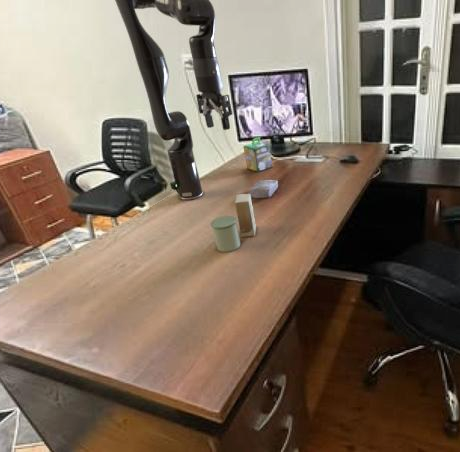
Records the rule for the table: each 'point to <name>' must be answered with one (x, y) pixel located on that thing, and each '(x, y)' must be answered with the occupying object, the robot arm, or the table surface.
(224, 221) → the canister
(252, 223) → the cosmetic box
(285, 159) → the table surface
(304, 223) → the table surface
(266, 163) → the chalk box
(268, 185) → the stone block
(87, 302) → the table surface
